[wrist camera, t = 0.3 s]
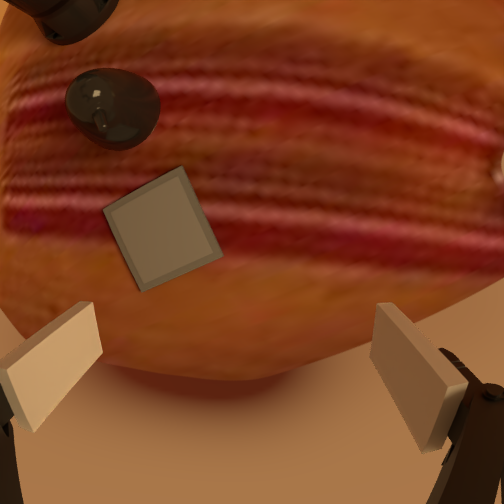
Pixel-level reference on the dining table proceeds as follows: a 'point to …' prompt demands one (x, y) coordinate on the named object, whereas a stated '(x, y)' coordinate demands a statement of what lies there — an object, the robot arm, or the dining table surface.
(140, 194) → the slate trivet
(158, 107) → the pump dispenser
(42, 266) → the dining table surface
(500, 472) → the robot arm
